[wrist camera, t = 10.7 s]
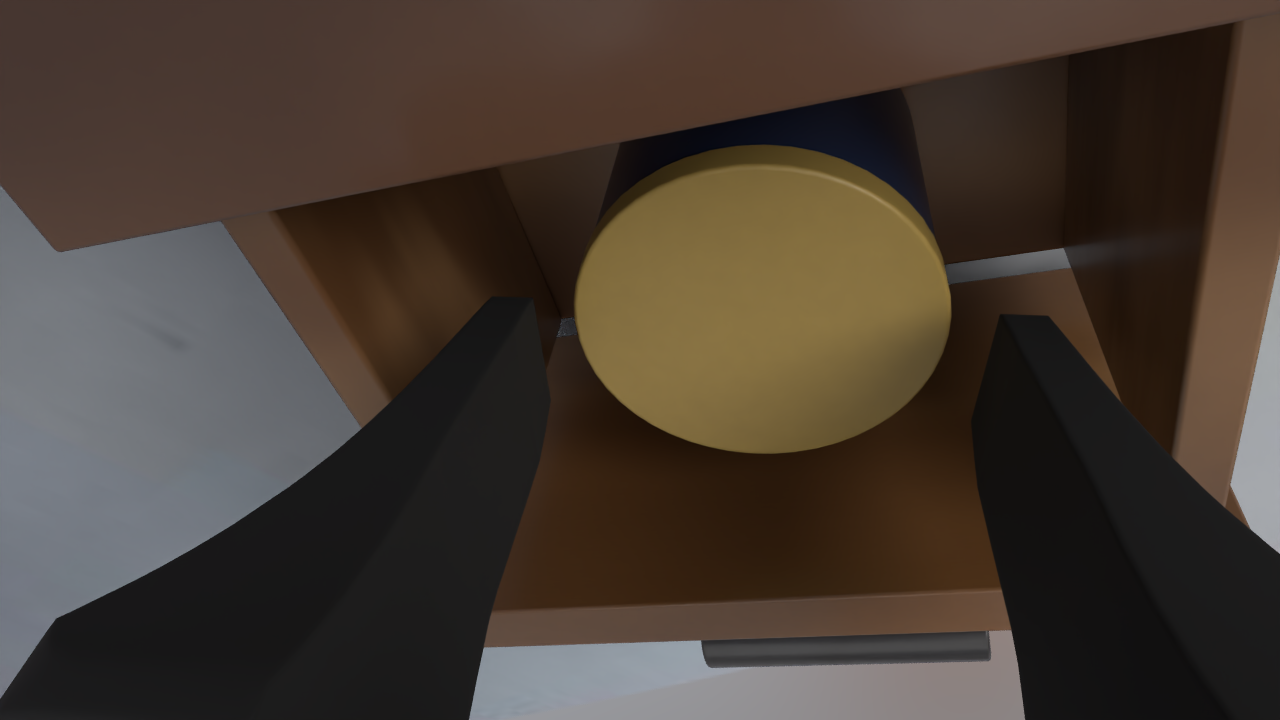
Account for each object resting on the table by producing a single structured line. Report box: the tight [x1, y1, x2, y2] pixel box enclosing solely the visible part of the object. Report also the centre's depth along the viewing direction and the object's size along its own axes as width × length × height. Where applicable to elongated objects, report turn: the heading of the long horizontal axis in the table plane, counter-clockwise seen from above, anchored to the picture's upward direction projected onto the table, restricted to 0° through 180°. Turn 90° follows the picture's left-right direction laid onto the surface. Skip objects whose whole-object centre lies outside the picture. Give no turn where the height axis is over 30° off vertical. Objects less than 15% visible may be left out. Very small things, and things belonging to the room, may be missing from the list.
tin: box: [574, 88, 952, 454], centre depth 15 cm, size 6×6×5 cm
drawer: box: [221, 13, 1280, 668], centre depth 15 cm, size 19×13×8 cm
